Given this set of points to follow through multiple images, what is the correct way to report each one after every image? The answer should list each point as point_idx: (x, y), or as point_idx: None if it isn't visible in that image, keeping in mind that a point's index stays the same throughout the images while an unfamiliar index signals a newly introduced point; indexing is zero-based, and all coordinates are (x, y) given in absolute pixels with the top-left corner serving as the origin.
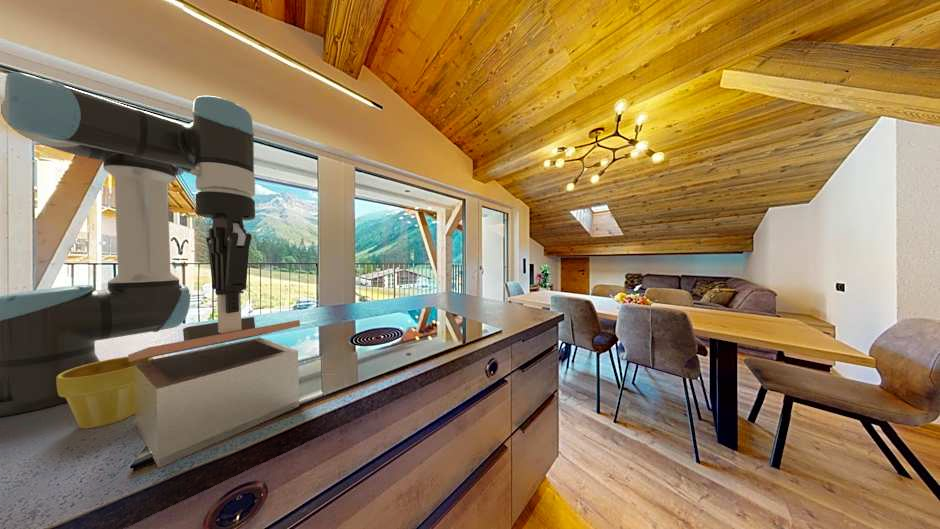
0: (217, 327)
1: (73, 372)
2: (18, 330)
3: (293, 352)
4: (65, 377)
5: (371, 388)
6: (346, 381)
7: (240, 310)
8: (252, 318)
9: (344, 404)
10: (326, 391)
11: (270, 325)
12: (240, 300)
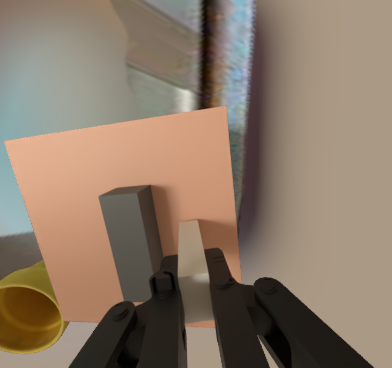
0: (156, 255)
1: (8, 343)
2: None
3: None
4: (23, 344)
5: (236, 33)
6: (180, 46)
7: (201, 242)
8: (138, 195)
9: (246, 86)
10: (189, 85)
11: (231, 175)
12: (204, 257)
